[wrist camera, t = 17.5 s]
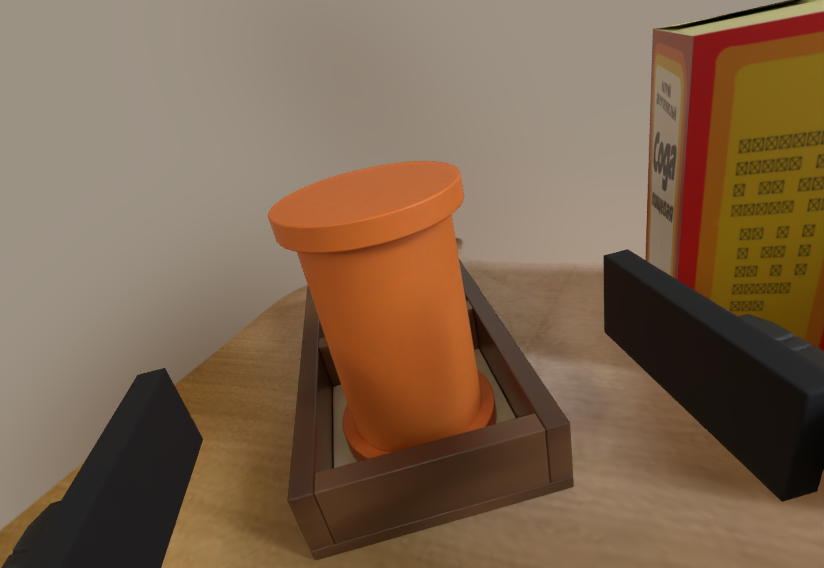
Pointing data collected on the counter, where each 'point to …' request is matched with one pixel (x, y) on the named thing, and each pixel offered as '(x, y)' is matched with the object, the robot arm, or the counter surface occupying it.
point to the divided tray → (422, 448)
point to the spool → (390, 301)
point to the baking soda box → (742, 162)
